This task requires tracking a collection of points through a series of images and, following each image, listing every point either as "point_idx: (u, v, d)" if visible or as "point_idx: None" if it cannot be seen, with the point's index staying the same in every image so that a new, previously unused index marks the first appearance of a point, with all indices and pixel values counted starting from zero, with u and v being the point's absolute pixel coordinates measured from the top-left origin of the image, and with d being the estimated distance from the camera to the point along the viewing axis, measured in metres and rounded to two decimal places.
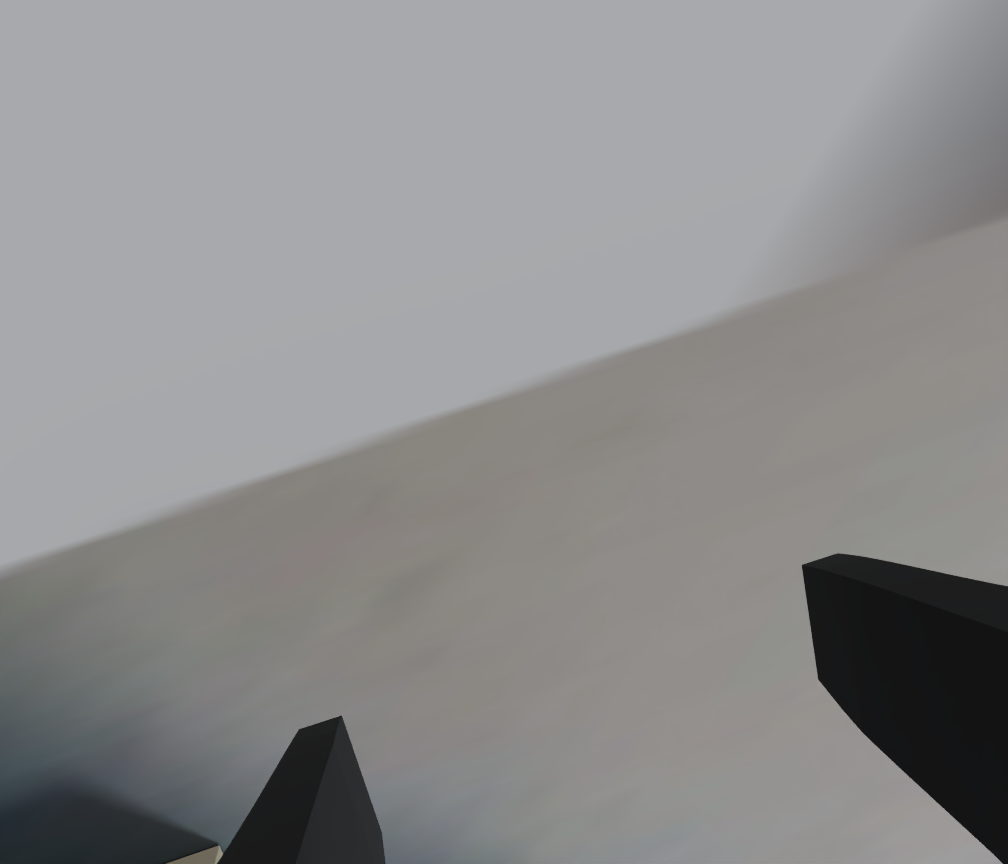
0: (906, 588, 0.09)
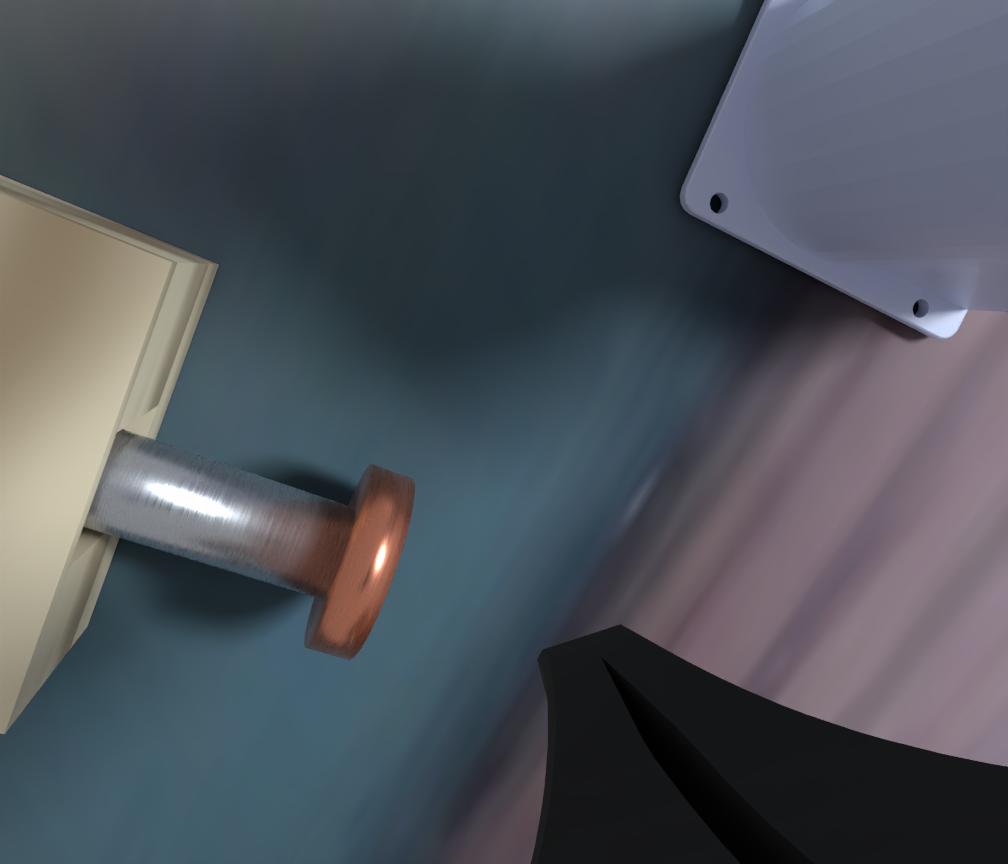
0: (642, 677, 0.09)
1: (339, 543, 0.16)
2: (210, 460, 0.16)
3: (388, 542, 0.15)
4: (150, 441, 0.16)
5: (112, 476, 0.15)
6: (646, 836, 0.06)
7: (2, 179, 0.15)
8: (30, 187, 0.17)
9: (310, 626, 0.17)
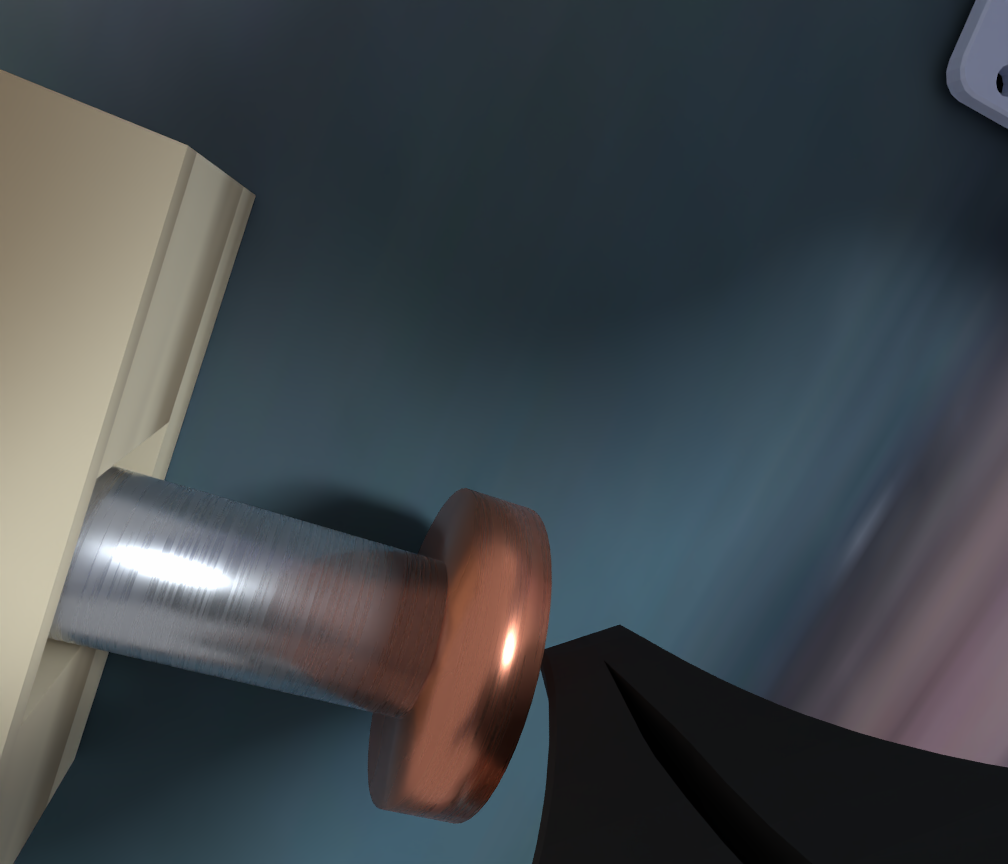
0: (641, 678, 0.09)
1: (427, 629, 0.09)
2: (201, 495, 0.09)
3: (521, 632, 0.09)
4: None
5: None
6: (648, 835, 0.06)
7: None
8: None
9: (378, 760, 0.10)
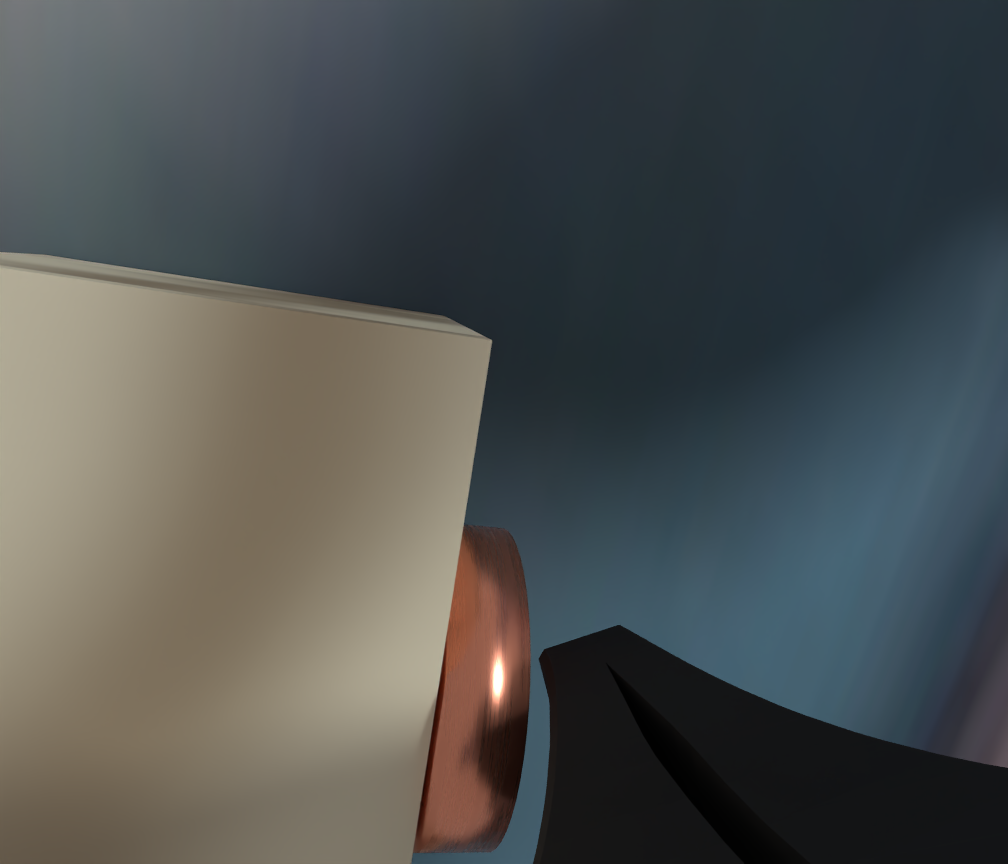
0: (641, 678, 0.09)
1: None
2: None
3: (504, 664, 0.09)
4: None
5: None
6: (649, 835, 0.06)
7: (139, 272, 0.10)
8: None
9: None
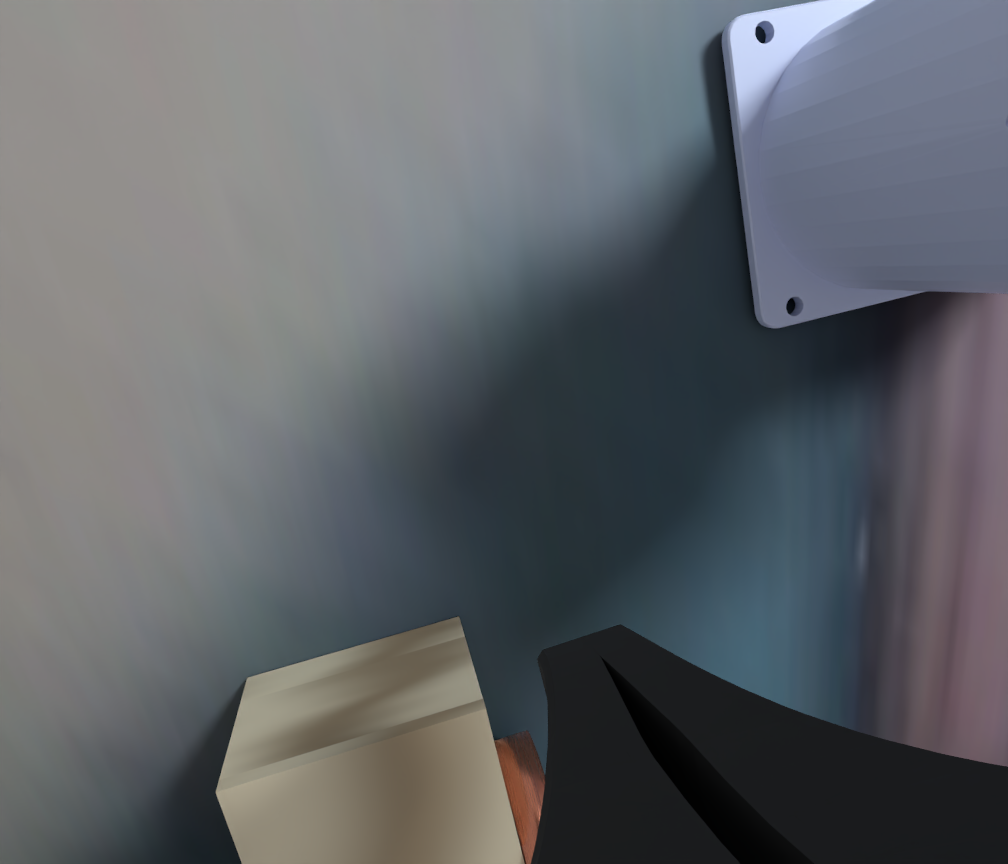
0: (642, 677, 0.09)
1: None
2: None
3: None
4: None
5: None
6: (646, 836, 0.06)
7: (302, 682, 0.19)
8: (310, 661, 0.20)
9: None
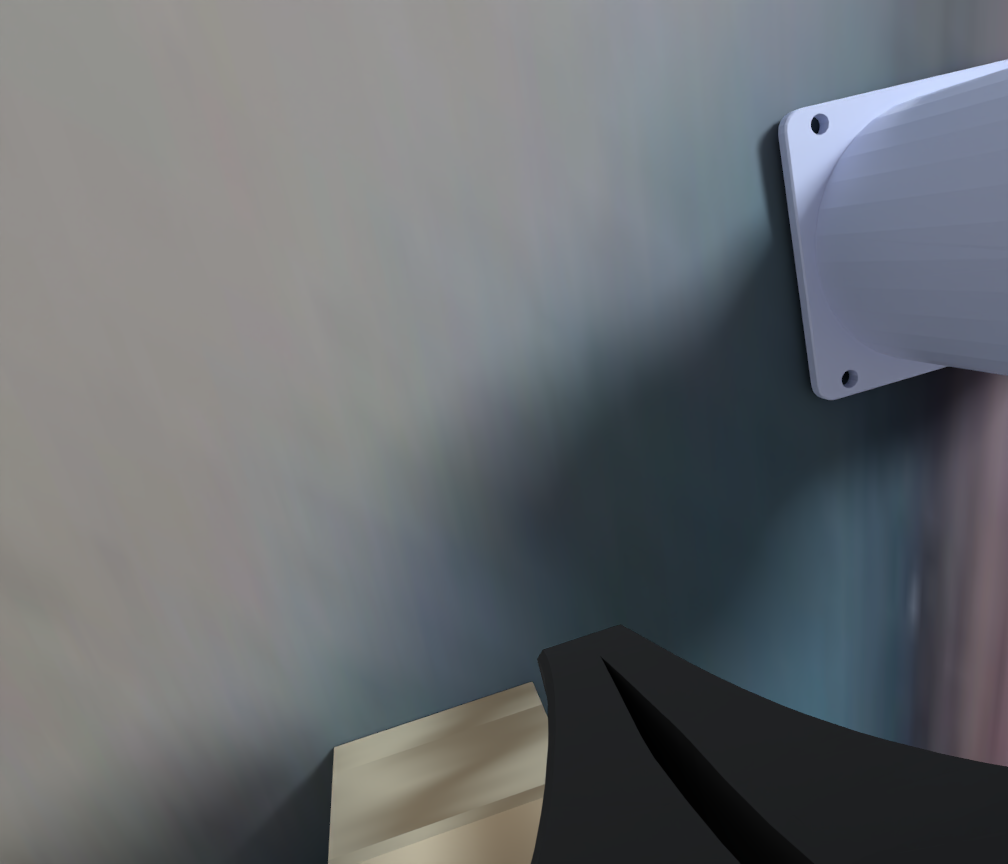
0: (642, 677, 0.09)
1: None
2: None
3: None
4: None
5: None
6: (646, 836, 0.06)
7: (390, 753, 0.20)
8: (393, 729, 0.21)
9: None
